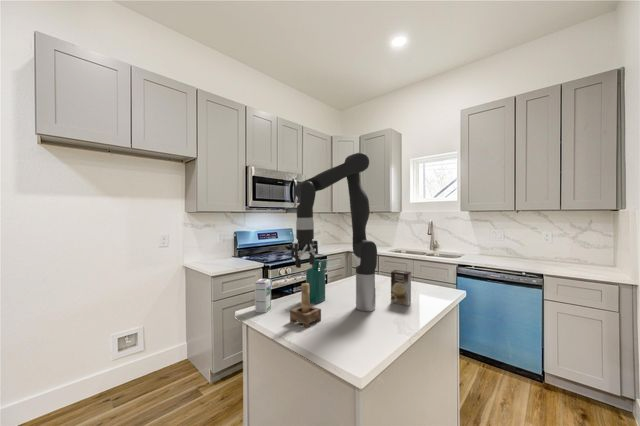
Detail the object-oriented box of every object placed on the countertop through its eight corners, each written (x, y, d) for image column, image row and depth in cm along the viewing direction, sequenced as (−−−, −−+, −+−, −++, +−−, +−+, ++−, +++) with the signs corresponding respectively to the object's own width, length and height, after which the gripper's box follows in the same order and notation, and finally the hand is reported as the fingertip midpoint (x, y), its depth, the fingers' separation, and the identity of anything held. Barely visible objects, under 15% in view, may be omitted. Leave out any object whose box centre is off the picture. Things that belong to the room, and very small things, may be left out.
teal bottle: (304, 301, 141) (304, 259, 141) (314, 296, 148) (313, 257, 148) (319, 304, 135) (319, 261, 135) (328, 300, 142) (328, 259, 142)
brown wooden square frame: (305, 315, 121) (304, 304, 121) (321, 320, 115) (320, 309, 115) (290, 322, 113) (290, 310, 113) (306, 328, 107) (306, 315, 107)
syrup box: (266, 312, 124) (266, 281, 124) (254, 312, 125) (254, 281, 125) (271, 308, 130) (271, 278, 130) (259, 307, 131) (259, 278, 131)
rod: (305, 319, 116) (305, 282, 116) (311, 321, 114) (311, 283, 114) (300, 321, 114) (299, 284, 114) (305, 323, 112) (305, 285, 112)
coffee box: (390, 302, 137) (390, 271, 138) (393, 299, 143) (393, 269, 143) (408, 305, 133) (408, 273, 133) (411, 302, 138) (411, 271, 138)
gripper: (299, 229, 106) (300, 270, 106) (322, 227, 117) (322, 264, 117) (286, 228, 111) (287, 267, 111) (309, 227, 122) (309, 262, 122)
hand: (305, 266), depth 114 cm, fingers open, 8 cm apart
